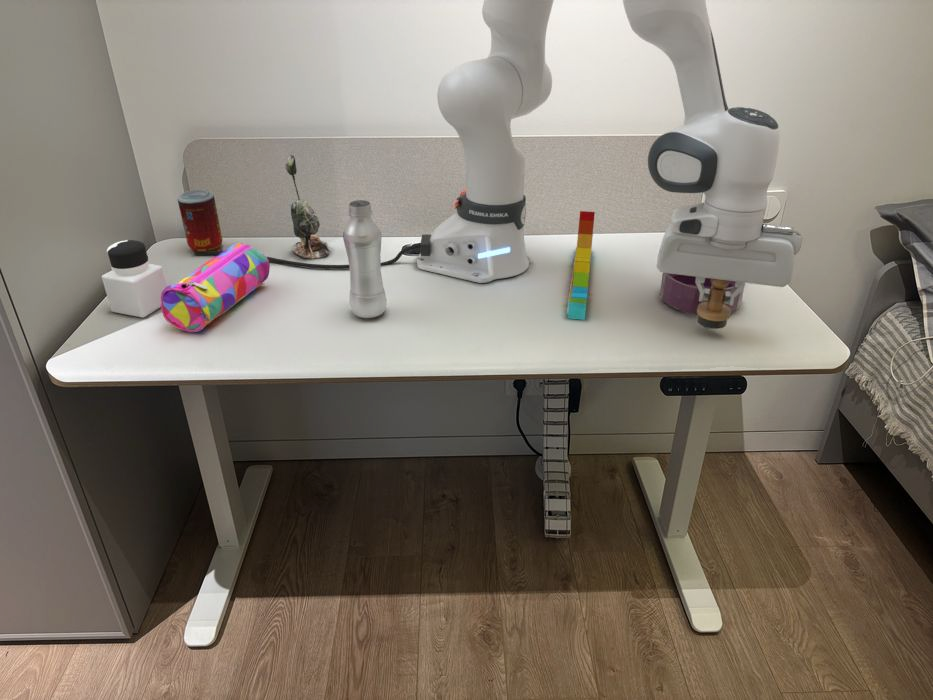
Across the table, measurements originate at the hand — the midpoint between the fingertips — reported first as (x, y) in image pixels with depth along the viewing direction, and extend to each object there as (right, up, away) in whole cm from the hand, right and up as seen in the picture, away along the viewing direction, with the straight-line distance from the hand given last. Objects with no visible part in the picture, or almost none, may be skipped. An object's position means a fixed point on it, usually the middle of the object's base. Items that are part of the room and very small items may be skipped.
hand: (715, 302), depth 113 cm
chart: (-19, +5, +20) cm, 28 cm away
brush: (0, -3, +2) cm, 4 cm away
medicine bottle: (-99, 0, +12) cm, 99 cm away
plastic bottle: (-58, -2, +9) cm, 58 cm away
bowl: (+2, +1, +13) cm, 13 cm away
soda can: (-96, +13, +34) cm, 102 cm away
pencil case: (-84, 0, +11) cm, 85 cm away
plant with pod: (-73, +12, +32) cm, 81 cm away
